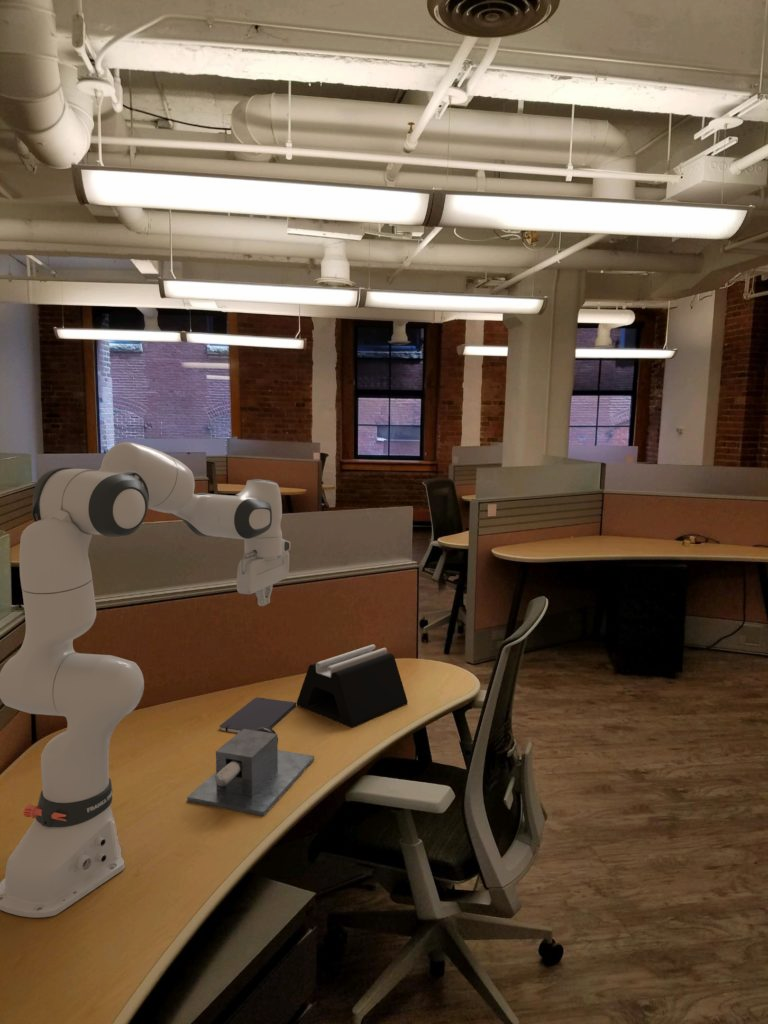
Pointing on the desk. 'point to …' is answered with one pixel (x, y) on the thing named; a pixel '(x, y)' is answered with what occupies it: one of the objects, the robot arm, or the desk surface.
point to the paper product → (258, 715)
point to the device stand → (353, 686)
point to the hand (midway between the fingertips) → (264, 604)
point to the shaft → (235, 765)
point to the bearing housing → (252, 774)
